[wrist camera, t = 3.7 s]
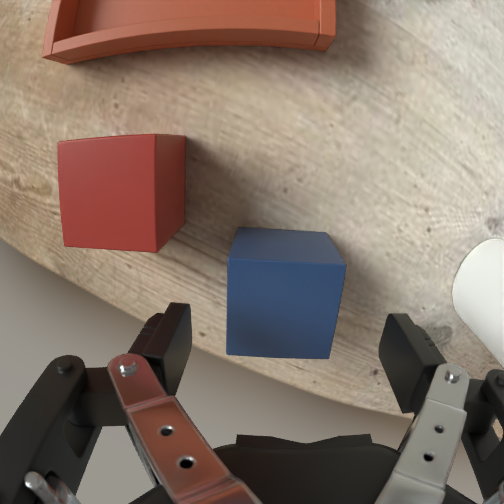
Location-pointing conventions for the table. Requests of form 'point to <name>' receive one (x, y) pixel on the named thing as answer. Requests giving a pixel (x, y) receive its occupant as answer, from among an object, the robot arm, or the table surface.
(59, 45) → the orange tray
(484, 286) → the can
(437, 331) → the table surface
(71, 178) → the red block
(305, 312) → the blue block
